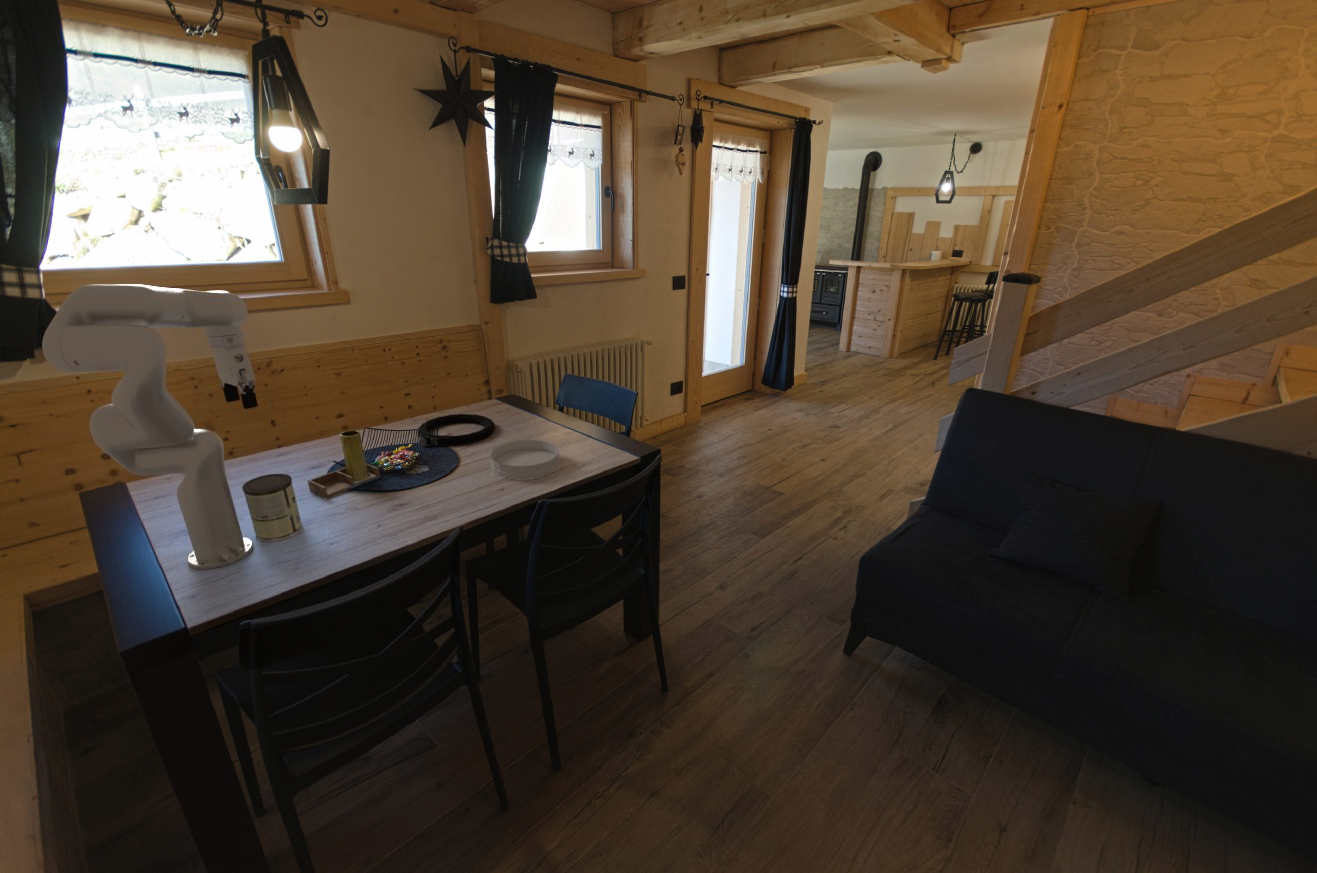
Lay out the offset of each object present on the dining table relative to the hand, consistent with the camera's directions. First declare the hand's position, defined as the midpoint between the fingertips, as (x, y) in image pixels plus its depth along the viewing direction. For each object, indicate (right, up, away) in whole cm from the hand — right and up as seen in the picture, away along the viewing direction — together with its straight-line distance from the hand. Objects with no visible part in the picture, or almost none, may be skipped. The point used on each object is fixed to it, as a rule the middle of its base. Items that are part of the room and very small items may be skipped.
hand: (242, 404), depth 154 cm
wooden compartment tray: (+17, -23, +19) cm, 35 cm away
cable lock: (+35, -8, +61) cm, 71 cm away
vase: (+20, -21, +22) cm, 36 cm away
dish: (+68, -19, +36) cm, 79 cm away
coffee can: (+14, -33, -6) cm, 37 cm away
